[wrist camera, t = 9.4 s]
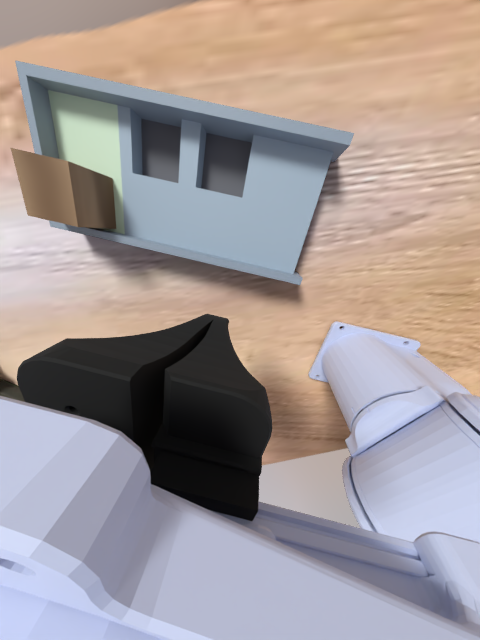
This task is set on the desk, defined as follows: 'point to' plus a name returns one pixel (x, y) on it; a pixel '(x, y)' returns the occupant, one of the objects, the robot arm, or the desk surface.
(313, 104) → the desk surface
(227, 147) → the box
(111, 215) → the block
